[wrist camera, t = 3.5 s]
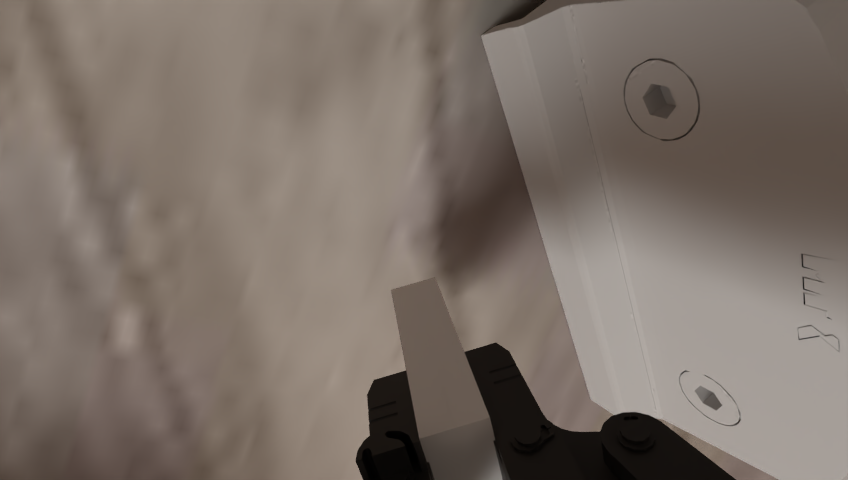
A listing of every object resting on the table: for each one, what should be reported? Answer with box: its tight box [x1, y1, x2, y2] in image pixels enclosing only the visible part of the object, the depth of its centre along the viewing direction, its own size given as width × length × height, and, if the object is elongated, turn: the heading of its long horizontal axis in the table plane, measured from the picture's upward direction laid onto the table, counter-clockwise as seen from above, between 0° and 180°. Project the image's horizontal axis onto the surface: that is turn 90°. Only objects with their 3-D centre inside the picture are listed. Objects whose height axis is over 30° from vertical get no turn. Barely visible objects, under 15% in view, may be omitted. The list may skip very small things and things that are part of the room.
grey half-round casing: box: [481, 0, 848, 480], centre depth 15 cm, size 17×5×10 cm, turn 21°
